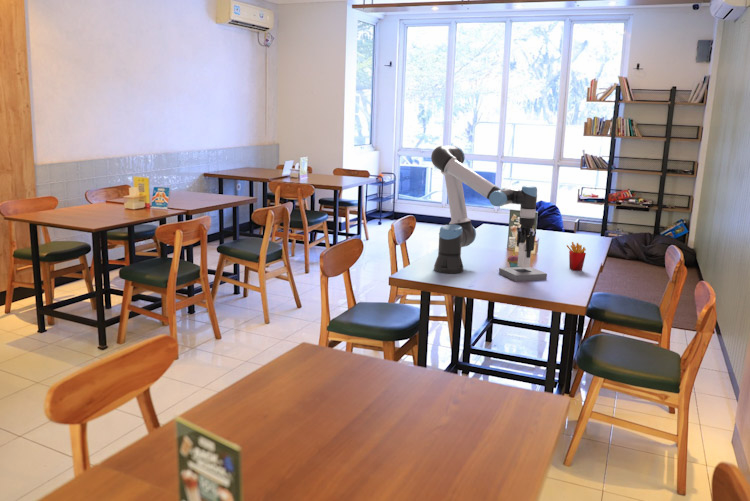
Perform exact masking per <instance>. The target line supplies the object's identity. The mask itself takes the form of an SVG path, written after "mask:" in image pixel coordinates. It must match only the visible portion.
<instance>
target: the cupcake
mask: <svg viewBox="0 0 750 501" xmlns="http://www.w3.org/2000/svg"><path fill="white" fill-rule="evenodd" d="M512 251H513V252H512V253H513V255H510V256H508V258H507V262H508V264H509V267H519V266H517V264H518V254H517V255H515V247H514V246H513V247H512Z"/></svg>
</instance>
